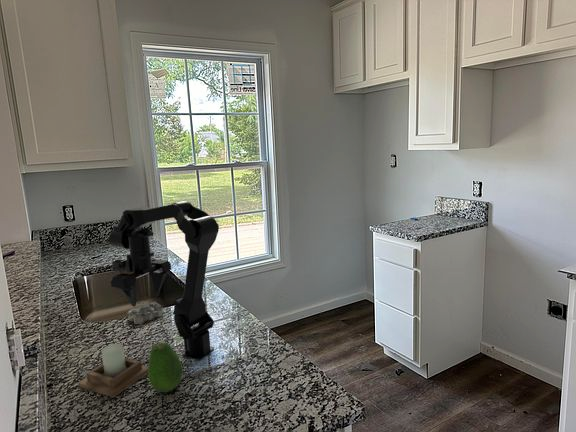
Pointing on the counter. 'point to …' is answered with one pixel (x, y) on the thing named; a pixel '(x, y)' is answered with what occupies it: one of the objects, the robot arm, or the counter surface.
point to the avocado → (164, 368)
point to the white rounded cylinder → (113, 360)
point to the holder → (113, 385)
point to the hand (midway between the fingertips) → (145, 300)
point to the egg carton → (145, 313)
